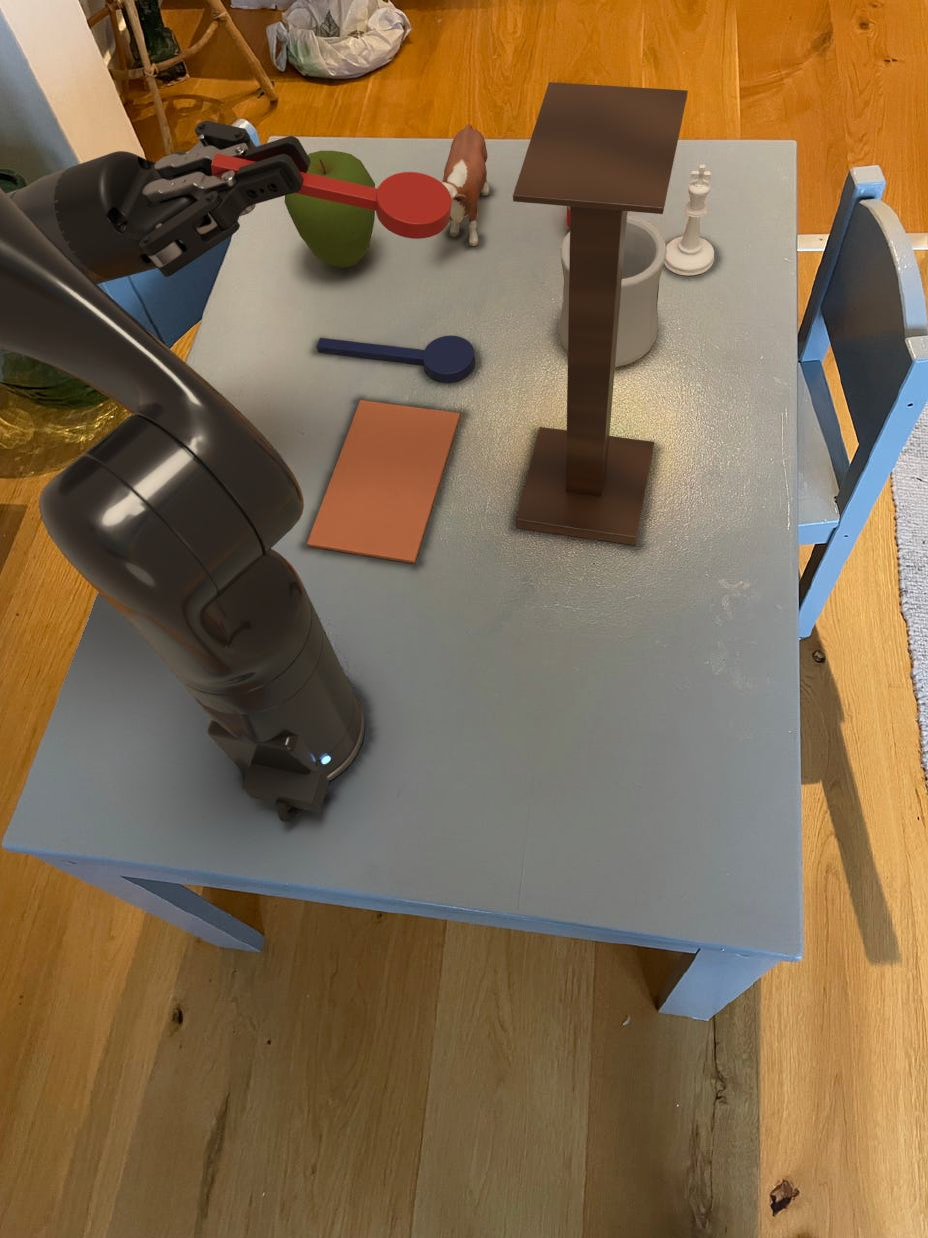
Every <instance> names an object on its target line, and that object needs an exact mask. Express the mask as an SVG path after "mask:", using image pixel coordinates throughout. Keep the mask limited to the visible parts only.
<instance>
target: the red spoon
mask: <svg viewBox="0 0 928 1238" xmlns="http://www.w3.org/2000/svg"><path fill="white" fill-rule="evenodd" d="M252 163H255V162H254V161H249V160H245V159H241V158H236V157H232V156H227V155H223V154H218V153H216V155H215V157H214V159H213V161H212V163H211V169H212V175H216V174H219V173H223V172H226V171H229V170H233V171H234V172H235V174H236V175H237V172H238V170H239V167H242V166H245V165H249V164H252ZM300 173H301V174H302V176H303V179H304V181H303V184H302V187H301V189H300V191H298V192H295V193H297V194H301V195H306V196H310V197H315V198H319V199H324V200H329V201H333V202H338V203H342V204H347V205H351V206H356V207H361V208H365V209H370V210H374V211H375V214H376V217H377V219H378V221H379V223H380V224H381V225H382V227H384V228H385V229H386V230H387V231H389V232H390V233H393V234H394V235H397V236H399V237H402V238H405V239H411V240H412V239H414V240H422V239H427V238H431V237H434V236H436V235H438V234H440V233H441V232H443V231H445V229H446V228H447V226H448V224H449V222H450V213H451V205H452V199H451V195H450V193H449V191H448V189H447V188H446V187H445V186H444V185H443V184H442V183H441V182H442V181H440V180H438V179H437V178H435V177H433V176H431V175H429V174H426V173H422V172H416V171H403V172H397V173H394V174H392V175H390V176H388V177H386V178H385V179H384V180H382V182H381V183H380V184H379V186H378V187H375V188H373V187H368V186H364V185H359V184H355V183H350V182H346V181H341V180H337V179H332V178H327V177H323V176H318V175H314V174H309V173H304V172H300Z"/></svg>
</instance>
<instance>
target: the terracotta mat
mask: <svg viewBox="0 0 928 1238" xmlns="http://www.w3.org/2000/svg"><path fill="white" fill-rule="evenodd" d="M460 418H461V413H460V412H453V411H447V410H439V409H433V408H432V409H431V408H423V407H415V406H408V405H400V404H394V403H393V404H392V403H384V402H377V401H371V400H364V399H363V400H362V399H360V400H359V403H358V406H357V409H356V411H355V414H354V416H353V419H352V422H351V424H350V426H349V429H348V432H347V435H346V438H345V440H344V443H343V446H342V448H341V451H340V454H339V457H338V459H337V462H336V464H335V467H334V470H333V473H332V475H331V478H330V481H329V482H328V483H329V484H328V486H327V489H326V491H325V493H324V497H323V499H322V502H321V505H320V507H319V510H318V513H317V516H316V518H315V520H314V523H313V526H312V529H311V533H310V535H309V537H308V539H307V542H306V545H307V547H310V548H316V549H322V550H328V551H335V552H339V553H340V552H341V553H347V554H353V555H359V556H364V557H365V556H366V557H371V558H379V559H383V560H389V561H395V562H401V563H402V562H403V563H408V564H416V563H417V559H418V556H419V553H420V549H421V546H422V543H423V539H424V535H425V532H426V529H427V525H428V524H429V520H430V517H431V513H432V509H433V508H434V507H433V506H434V503H435V499H436V497H437V493H438V490H439V488H440V483H441V482H442V481H441V480H442V477H443V474H444V471H445V467H446V464H447V461H448V457H449V454H450V451H451V448H452V444H453V441H454V438H455V435H456V431H457V428H458V424H459V422H460Z"/></svg>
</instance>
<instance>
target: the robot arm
mask: <svg viewBox="0 0 928 1238" xmlns="http://www.w3.org/2000/svg"><path fill="white" fill-rule="evenodd" d="M194 133H195V134H196V136H197V137H198V140H199V141H198V142H197V143H196V144H195V145H194V146H193V147H191V149H190V150H189V151H188V152H185V151H183V150H181V151H180V150H179V151H178V150H177V151H175V152H172V153H170V154H169V155H166V156H163V157H160V159H159V160H157V161H155V162H154V161H151V160H148V159H146V158H144V157H142V156H140V155H138V154H136V153H133V152H129V151H126V150H118V151H113V152H110V153H108V154H104V155H102V156H99V157H96V158H92V159H90V160H88V161H85V162H81V163H78V164H75V165H72V166H70V167H67V168H65V169H62V170H58V171H55V172H52V173H50V174H47V175H44V176H41V177H40V178H38V179H36V180H35V181H33V182H31V183H29V184H28V185H27V186H24V187H22V188H19V189H15V190H13V191H10V192H7V193H6V192H5V190H3V188H2V187H0V349H1V350H5V351H9V352H12V353H15V354H19V355H22V356H25V357H27V358H31V359H32V360H36V361H38V362H40V363H41V362H42V363H44V364H46V365H48V366H51V367H53V368H55V369H58V370H59V371H61V372H64V373H66V374H68V375H70V376H72V377H74V378H75V379H77V380H79V381H81V382H83V383H84V384H86V385H88V386H90V387H91V388H92V389H94V390H96V391H97V392H99V393H100V394H102V395H104V396H105V397H106V398H109V399H110V400H111V401H113V402H114V403H115V404H117V405H119V407H120V408H122V409H124V410H125V411H126V412H127V413H129V414H130V416H128V417H127V418H125V419H124V420H123V421H122V422H120V423H119V424H118V425H117V426H115V427H114V428H113V429H112V430H111V431H109V432H108V433H106V435H104V436H103V437H102V438H100V439H99V440H98V441H97V442H96V443H95V444H94V445H92V446H91V447H90V448H88V449H87V450H86V451H85V452H84V453H82V454H81V455H80V456H78V458H76V459H75V460H74V461H73V462H71V463H70V464H68V466H67V467H65V468H64V469H62V470H61V471H60V472H59V473H58V474H56V475H55V476H54V477H53V478H52V479H51V480H50V481H49V482H48V483H47V484H45V486H43V488H42V490H41V493H40V495H39V500H38V507H39V512H40V517H41V521H42V523H43V525H44V527H45V529H46V531H47V533H48V536H49V537H50V539H51V540H52V542H53V543H54V544H55V546H56V547H57V548H58V549H59V551H60V552H61V554H62V555H63V557H64V558H65V559H66V560H67V561H68V563H70V564H71V566H72V567H73V568H74V569H75V570H76V571H77V572H78V573H79V574H80V575H81V576H82V577H83V578H84V580H85V581H86V582H87V583H88V584H89V585H90V586H91V587H92V588H94V589H95V590H96V591H97V592H98V593H99V594H100V595H101V597H103V598H104V599H105V600H106V601H107V602H108V603H109V604H110V605H111V606H112V607H113V608H114V609H115V610H116V611H117V612H118V613H119V614H121V615H122V616H123V617H124V618H125V620H126V621H127V622H129V624H130V625H132V626H133V627H134V629H135V630H136V631H137V632H138V633H139V635H140V636H141V637H142V639H144V640H145V641H146V642H147V643H148V645H149V646H150V647H151V649H152V650H153V651H154V652H155V653H156V655H157V656H158V657H159V658H160V659H161V661H162V662H163V663H164V665H165V666H166V667H167V669H169V671H170V672H171V673H172V674H173V675H174V676H175V677H176V678H177V679H178V680H179V682H180V683H181V684H182V686H183V687H184V688H185V689H186V690H187V691H188V693H190V695H191V696H192V697H193V699H194V700H195V702H197V703H198V704H199V705H200V707H201V708H202V709H203V710H204V711H205V713H206V714H207V715H208V717H210V722H209V725H208V726H207V729H206V734H207V735H208V736H209V738H211V740H212V741H213V742H214V743H215V745H217V746H218V748H219V749H220V750H221V752H223V753H224V754H225V755H226V756H227V758H229V760H230V761H231V762H232V763H233V764H234V765H235V766H236V767H237V769H238V770H239V771H240V772H241V773H242V774H243V775H244V776H245V778H244V780H243V783H242V786H241V789H242V790H243V791H244V792H245V793H246V794H247V795H248V796H249V797H250V799H253V800H258V801H262V802H263V801H264V802H267V803H272V804H275V805H276V812H277V816H278V819H279V820H280V821H281V822H284V823H289V822H290V823H291V822H292V821H294V820H295V819H296V818H297V817H298V815H299V814H300V813H301V812H302V811H303V810H304V811H308V812H313V813H318V814H319V813H321V809H322V806H323V804H324V800H325V797H326V795H327V790H328V788H329V784H330V781H333V779H335V778H337V777H338V776H339V775H341V774H342V773H343V772H344V771H345V770H346V769H347V768H348V767H349V766H350V765H351V764H352V762H353V761H354V760H355V758H356V757H357V755H358V753H359V751H360V749H361V747H362V744H363V742H364V737H365V730H366V720H365V713H364V709H363V707H362V703H361V702H360V699H359V697H358V695H357V694H356V692H355V691H354V689H353V688H352V686H351V683H350V680H349V679H348V677H347V675H346V673H345V671H344V668H343V667H342V665H341V662H340V660H339V658H338V657H337V654H336V652H335V649H334V647H333V646H332V643H331V642H330V639H329V636H328V635H327V632H326V631H325V628H324V627H323V624H322V622H321V620H320V617H319V615H318V613H317V611H316V609H315V607H314V605H313V602H312V601H311V598H310V596H309V594H308V591H307V590H306V587H305V585H304V582H303V581H302V578H301V577H300V575H299V573H298V572H297V571H296V569H295V567H294V566H293V565H292V564H291V563H290V562H289V561H288V559H287V558H285V557H284V556H283V555H282V554H280V552H278V551H276V550H274V549H272V548H273V547H274V546H275V545H277V544H278V542H280V541H281V540H282V539H283V538H284V537H285V536H286V535H287V534H288V533H289V532H291V530H292V529H293V528H294V527H295V526H296V525H297V523H299V521H300V519H302V518H301V517H302V516H303V513H304V508H305V503H304V501H305V500H304V494H303V491H302V488H301V487H300V484H299V483H298V480H297V478H296V475H295V474H294V472H293V471H292V469H291V468H290V466H289V465H288V464H287V462H286V461H285V460H284V458H283V457H282V455H281V454H280V453H279V451H278V450H277V449H276V448H275V446H274V445H273V444H272V443H271V442H270V440H268V438H267V437H266V436H265V435H264V434H263V433H262V432H261V430H259V429H258V428H257V426H255V424H253V423H252V421H250V420H249V418H247V417H246V416H245V415H244V414H243V412H241V411H240V409H238V408H237V407H236V406H235V405H234V404H233V403H232V402H231V401H229V400H228V399H227V398H226V397H225V396H224V395H223V394H222V393H220V392H219V390H217V389H216V388H215V387H214V386H212V384H211V383H210V382H208V381H207V380H206V379H205V378H203V376H202V375H200V373H198V372H197V371H196V370H194V368H192V367H191V366H190V365H189V364H188V363H186V362H185V361H184V360H183V359H182V358H181V357H180V356H179V355H178V354H176V353H175V352H174V351H173V350H172V349H171V348H169V347H168V346H167V344H165V343H164V342H163V341H161V340H160V339H159V338H158V337H157V336H156V335H155V334H153V333H152V332H151V331H150V330H149V329H148V328H146V327H145V326H144V325H143V324H142V323H141V322H140V321H139V320H138V319H136V318H135V317H134V316H133V315H132V314H130V312H128V311H127V310H126V309H125V308H124V307H122V305H120V304H119V303H118V302H117V301H116V300H115V299H114V298H113V297H111V296H110V295H109V294H108V293H107V292H106V291H104V289H102V288H101V287H100V286H99V285H100V284H104V283H107V282H111V281H115V280H119V279H122V278H125V277H129V276H133V275H138V274H140V273H144V272H148V271H152V270H156V269H158V271H159V272H160V273H161V274H162V275H163V277H164V278H168V277H171V276H173V275H174V274H176V273H177V272H179V271H180V270H182V269H183V268H185V267H186V266H187V265H189V264H191V263H192V262H195V260H197V259H198V258H200V257H201V256H202V255H205V254H206V253H208V251H210V250H211V249H214V248H215V247H217V246H218V245H219V244H221V243H222V242H224V241H225V240H227V239H228V238H230V237H231V236H233V235H234V234H235V233H236V232H238V230H239V229H240V227H241V224H240V222H239V221H238V220H237V219H238V218H239V217H242V216H246V215H248V214H250V213H251V212H252V211H253V210H254V209H255V208H256V205H257V204H261V203H264V202H268V201H270V200H274V199H275V200H276V199H278V198H282V197H285V195H288V194H292V193H295V192H298V191H300V189H301V187H302V184H303V181H304V179H303V176H302V174H301V173H300V172H304V173H306V172H307V171H308V168H309V166H310V163H311V161H310V158H309V156H308V153H307V152H306V150H305V147H304V146H303V144H302V142H300V141H301V140H299V138H298V137H296V136H294V135H288V136H285V137H282V138H279V139H275V140H272V141H269V142H266V143H263V144H260V145H257V146H256V144H255V143H254V142H253V140H252V138H251V136H250V134H249V132H248V130H247V129H246V128H244V127H239V126H236V125H235V126H234V125H229V124H225V123H220V122H216V121H211V120H204V121H201V122H200V123H198V124H197V125H196V126H195V128H194ZM216 153H218V154H223V155H227V156H232V157H236V158H241V159H245V160H249V161H254V162H255V163H252V164H249V165H245V166H242V167H239V170H238V172H237V175H236V174H235V172H234V171H233V170H229V171H226V172H223V173H219V174H216V175H212V169H211V163H212V161H213V159H214V157H215V155H216ZM288 807H290V808H289V809H288Z"/></svg>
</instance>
